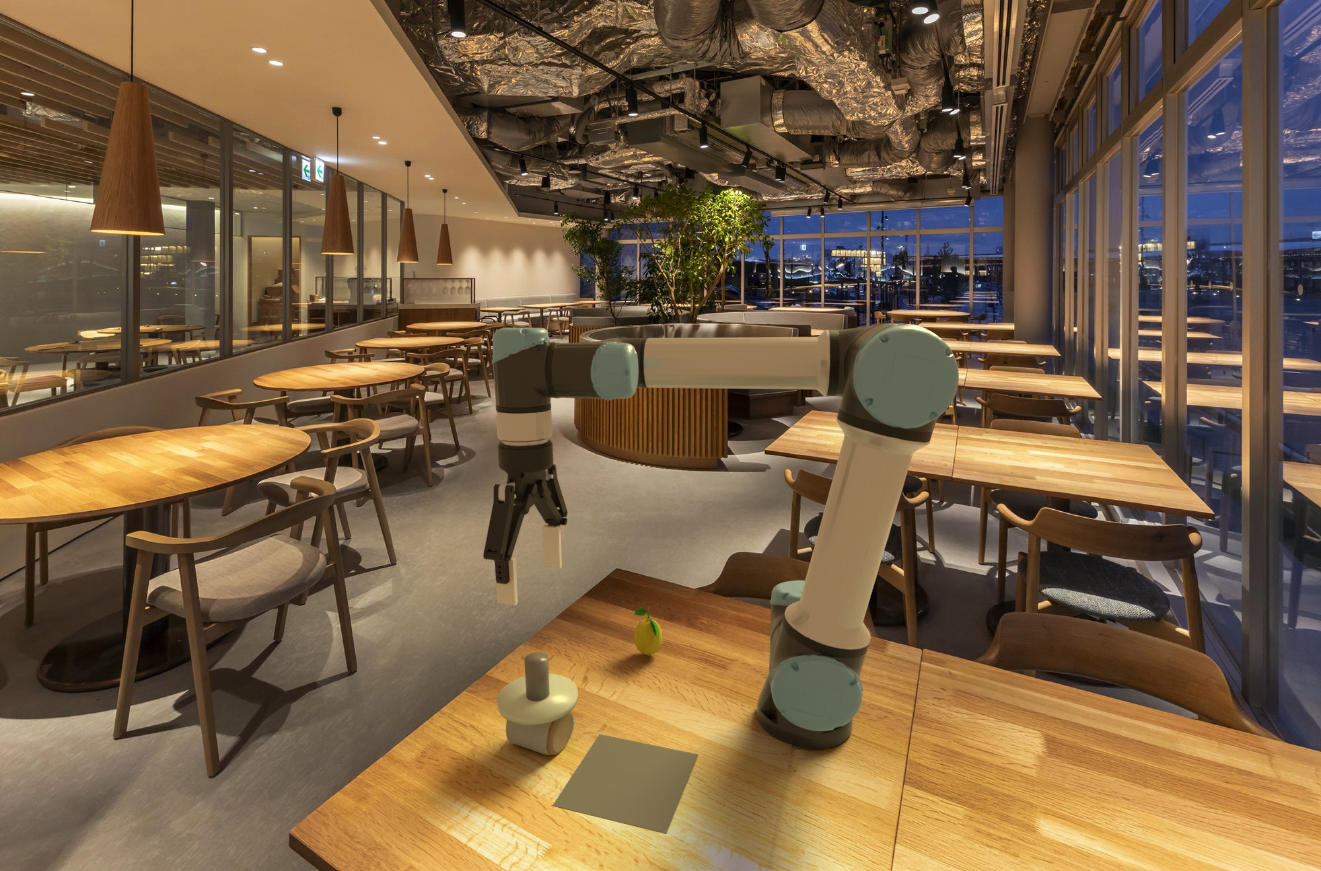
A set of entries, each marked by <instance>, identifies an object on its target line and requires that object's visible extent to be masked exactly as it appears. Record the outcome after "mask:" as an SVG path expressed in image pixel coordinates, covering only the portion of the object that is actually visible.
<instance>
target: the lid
mask: <svg viewBox="0 0 1321 871" xmlns="http://www.w3.org/2000/svg"><path fill="white" fill-rule="evenodd" d="M523 662H524V676H521V677H518V678H516V679H514V680H512V681H511V682H507V684H506V685H505V686H503V687H502V688H501V690H500V691H499V692H498V695H497V698H496V705H497V710H498V714H500V716H501V717H502V718H504V719H505V720H506V721H507V720H509V721H511V722H514V723H517V724H523V725H537V724H544V723H549V722H552V721H555V720H558V719H560V718H562V717H564V716H565V715H567V714H568V713H570V712H572V711H573V710H574V709H575V707H576V706H577V704H578V700H579V692H578V691H579V690H578V686H577V684H576V683H575V682H574V681H573V680H571V679H570V678H569V677H566V676H564V675H560V674H556V673H550V669H549V667H550V666H549V655H548V654H547V653H545V652H541V651H539V652H538V651H537V652H531V653H529V654H527V655H526V656H524V661H523Z"/></svg>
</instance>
